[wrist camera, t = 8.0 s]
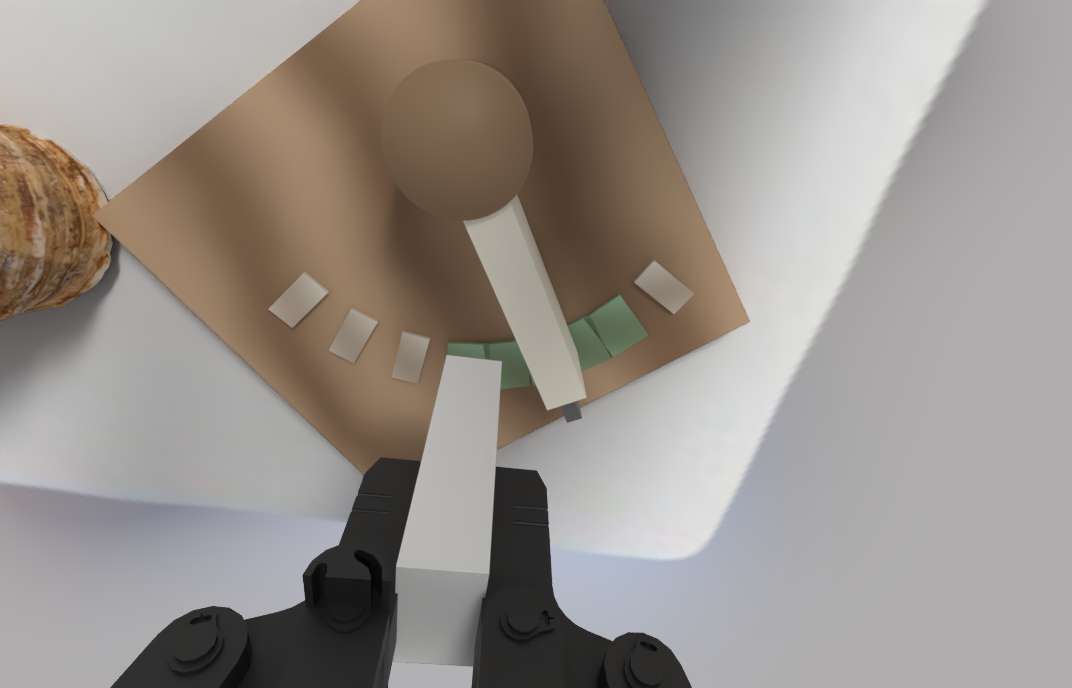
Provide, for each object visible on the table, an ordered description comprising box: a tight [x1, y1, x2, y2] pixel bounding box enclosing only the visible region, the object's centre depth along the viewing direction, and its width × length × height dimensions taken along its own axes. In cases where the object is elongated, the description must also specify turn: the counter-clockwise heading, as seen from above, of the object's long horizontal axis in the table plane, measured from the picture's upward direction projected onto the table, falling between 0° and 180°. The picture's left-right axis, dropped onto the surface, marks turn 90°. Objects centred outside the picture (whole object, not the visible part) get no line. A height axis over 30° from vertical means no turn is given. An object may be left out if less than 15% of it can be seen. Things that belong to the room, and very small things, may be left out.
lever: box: [381, 59, 587, 423], centre depth 19 cm, size 13×4×4 cm, turn 20°
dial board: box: [92, 0, 750, 475], centre depth 22 cm, size 20×18×1 cm
